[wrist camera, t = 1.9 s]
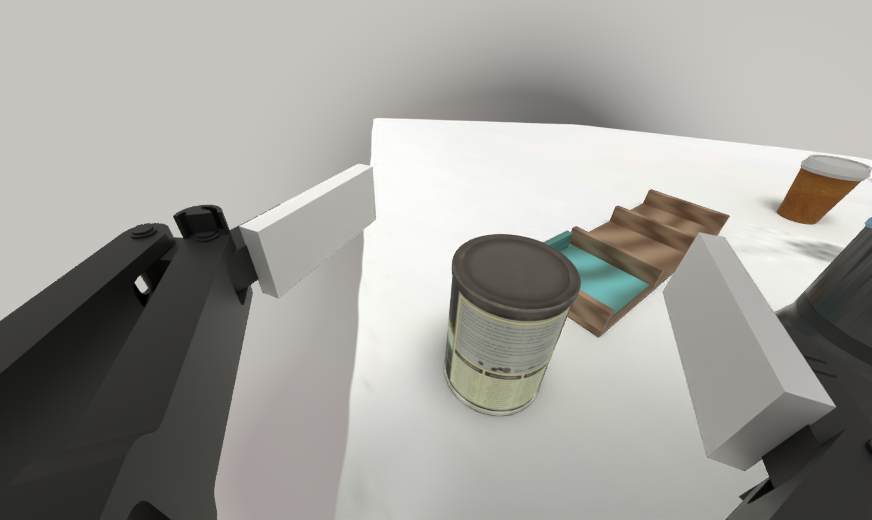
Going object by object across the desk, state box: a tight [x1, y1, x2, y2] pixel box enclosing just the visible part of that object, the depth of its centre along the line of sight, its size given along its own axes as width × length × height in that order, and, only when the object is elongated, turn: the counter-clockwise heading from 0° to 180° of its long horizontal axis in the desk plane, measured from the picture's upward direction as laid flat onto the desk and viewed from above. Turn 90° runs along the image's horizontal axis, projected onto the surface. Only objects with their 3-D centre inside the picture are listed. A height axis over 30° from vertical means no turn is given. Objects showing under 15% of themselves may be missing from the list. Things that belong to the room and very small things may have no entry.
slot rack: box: [543, 189, 730, 337], centre depth 53 cm, size 14×43×4 cm, turn 127°
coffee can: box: [444, 234, 581, 416], centre depth 30 cm, size 10×10×14 cm
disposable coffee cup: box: [777, 155, 872, 224], centre depth 65 cm, size 10×10×12 cm
